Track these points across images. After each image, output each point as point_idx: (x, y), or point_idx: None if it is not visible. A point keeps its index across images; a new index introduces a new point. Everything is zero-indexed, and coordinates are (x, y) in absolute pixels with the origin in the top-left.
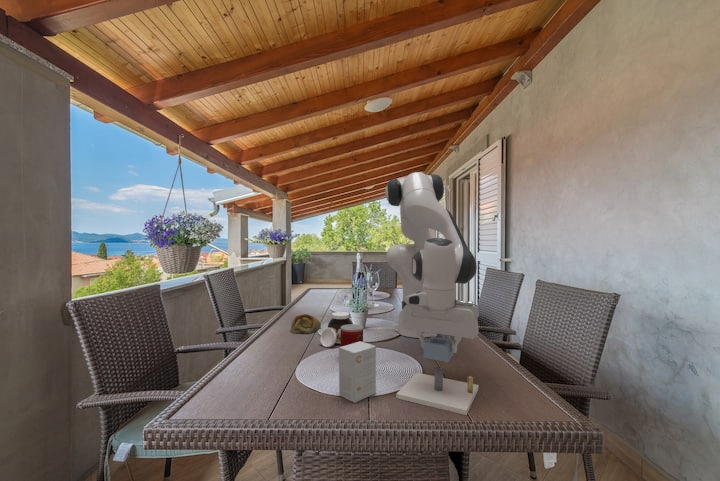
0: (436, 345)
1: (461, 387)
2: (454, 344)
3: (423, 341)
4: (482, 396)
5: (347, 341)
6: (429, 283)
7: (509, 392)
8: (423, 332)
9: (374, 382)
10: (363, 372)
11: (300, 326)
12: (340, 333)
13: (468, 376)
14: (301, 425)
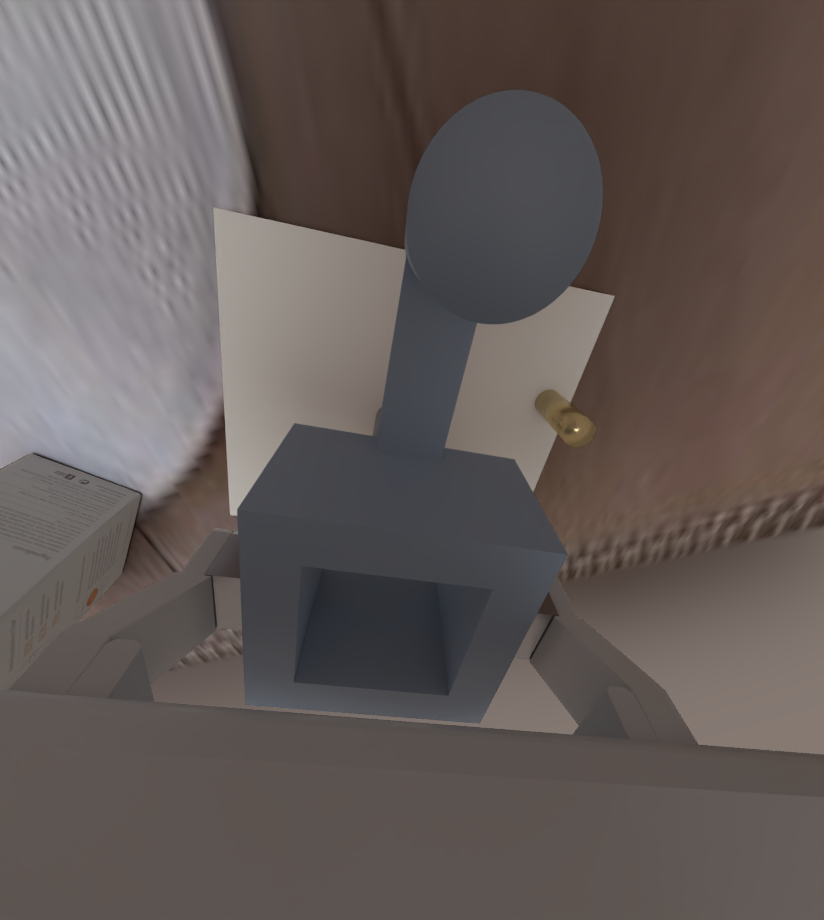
0: (378, 708)
1: (510, 364)
2: (551, 684)
3: (214, 627)
4: (599, 376)
5: None
6: None
7: (766, 279)
8: (133, 699)
9: (105, 533)
10: (41, 637)
11: None
12: None
13: (570, 430)
14: None
